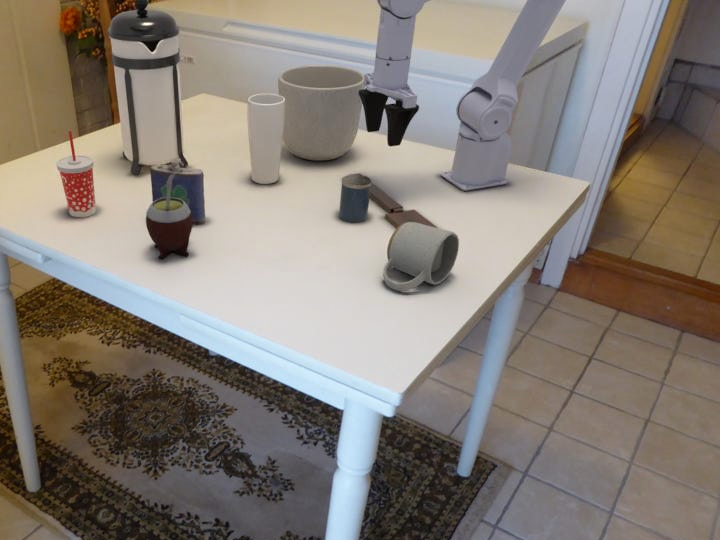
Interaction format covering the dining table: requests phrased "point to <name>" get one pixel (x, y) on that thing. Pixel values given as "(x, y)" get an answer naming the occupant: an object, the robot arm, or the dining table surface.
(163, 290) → the dining table surface
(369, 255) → the dining table surface
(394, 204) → the spatula
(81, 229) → the dining table surface
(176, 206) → the mate gourd
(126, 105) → the coffee press
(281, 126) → the drinking glass
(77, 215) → the beverage cup
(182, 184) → the flask
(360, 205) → the tin
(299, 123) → the planter
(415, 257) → the ceramic mug
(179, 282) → the dining table surface
